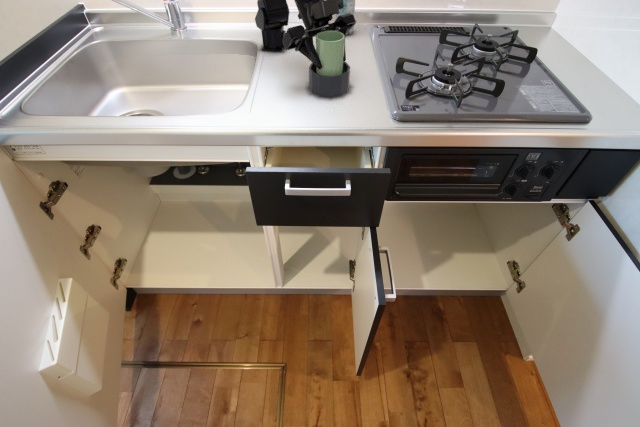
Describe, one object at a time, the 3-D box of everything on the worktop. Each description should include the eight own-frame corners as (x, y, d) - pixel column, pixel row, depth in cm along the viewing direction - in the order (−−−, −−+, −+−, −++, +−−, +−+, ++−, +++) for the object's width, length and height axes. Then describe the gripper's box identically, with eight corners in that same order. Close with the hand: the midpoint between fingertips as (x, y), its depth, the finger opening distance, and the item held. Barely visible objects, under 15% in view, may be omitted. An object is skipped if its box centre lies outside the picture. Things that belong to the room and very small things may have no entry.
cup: (313, 92, 88) (313, 40, 78) (319, 80, 92) (319, 29, 83) (339, 95, 87) (342, 42, 77) (343, 82, 91) (346, 31, 82)
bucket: (306, 95, 87) (305, 74, 83) (314, 77, 94) (314, 57, 89) (345, 99, 86) (346, 78, 81) (350, 80, 92) (352, 60, 88)
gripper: (283, -13, 71) (312, 59, 73) (354, -26, 78) (379, 40, 80) (270, 17, 81) (296, 79, 83) (334, 3, 88) (356, 61, 90)
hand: (332, 64), depth 84 cm, fingers closed on cup, 7 cm apart
